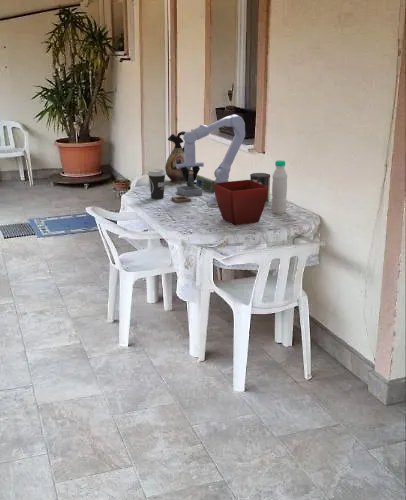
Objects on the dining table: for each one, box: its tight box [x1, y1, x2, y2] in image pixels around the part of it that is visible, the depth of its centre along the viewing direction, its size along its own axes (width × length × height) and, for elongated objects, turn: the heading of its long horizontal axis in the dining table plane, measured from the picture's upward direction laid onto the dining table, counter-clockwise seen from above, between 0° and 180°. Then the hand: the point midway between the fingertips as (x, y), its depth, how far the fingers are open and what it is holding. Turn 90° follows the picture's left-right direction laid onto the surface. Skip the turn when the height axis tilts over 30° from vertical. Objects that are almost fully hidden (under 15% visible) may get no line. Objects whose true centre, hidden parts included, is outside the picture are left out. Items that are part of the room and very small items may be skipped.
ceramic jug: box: [164, 130, 192, 184], centre depth 371 cm, size 17×15×30 cm
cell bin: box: [176, 184, 203, 197], centre depth 342 cm, size 12×10×4 cm
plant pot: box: [214, 179, 268, 226], centre depth 286 cm, size 19×19×17 cm
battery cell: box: [186, 168, 195, 187], centre depth 327 cm, size 4×4×9 cm
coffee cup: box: [147, 168, 167, 200], centre depth 331 cm, size 10×10×15 cm
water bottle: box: [271, 160, 288, 215], centre depth 300 cm, size 7×7×25 cm
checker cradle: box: [170, 195, 193, 204], centre depth 327 cm, size 9×9×2 cm
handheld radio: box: [194, 174, 215, 194], centre depth 356 cm, size 7×3×25 cm
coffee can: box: [249, 172, 271, 204], centre depth 323 cm, size 10×10×14 cm
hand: (190, 181), depth 328 cm, fingers closed on battery cell, 4 cm apart
